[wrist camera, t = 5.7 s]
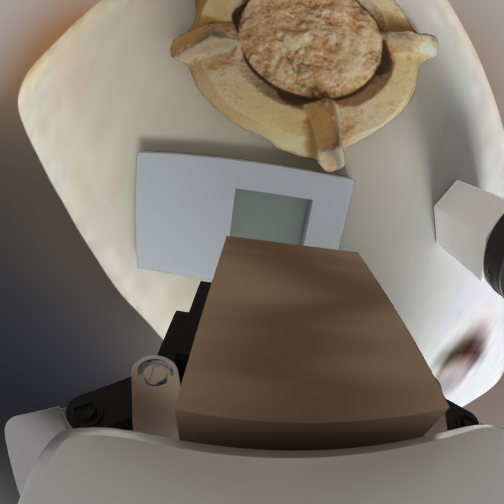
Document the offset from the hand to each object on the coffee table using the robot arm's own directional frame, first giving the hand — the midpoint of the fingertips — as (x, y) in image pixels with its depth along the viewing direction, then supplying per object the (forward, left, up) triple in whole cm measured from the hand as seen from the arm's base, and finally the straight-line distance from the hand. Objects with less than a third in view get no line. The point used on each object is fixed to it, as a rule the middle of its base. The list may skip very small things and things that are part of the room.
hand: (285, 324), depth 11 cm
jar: (-22, -3, -18) cm, 28 cm away
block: (0, 0, -2) cm, 2 cm away
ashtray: (-1, -17, -18) cm, 25 cm away
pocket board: (+3, +2, -18) cm, 18 cm away
